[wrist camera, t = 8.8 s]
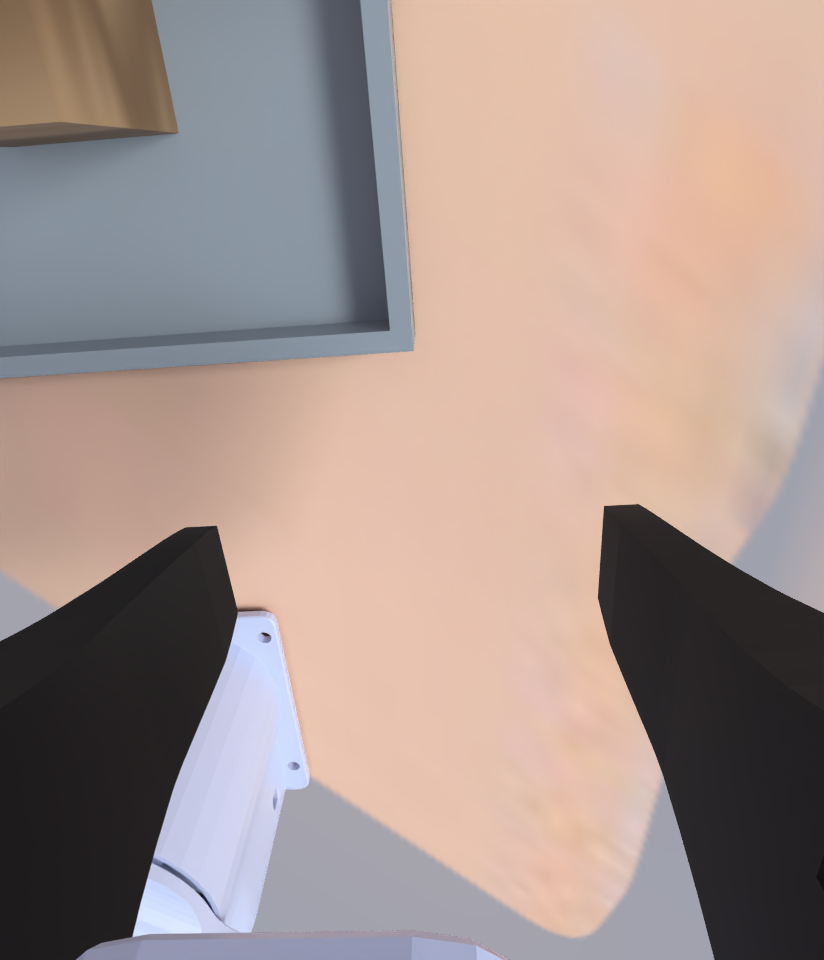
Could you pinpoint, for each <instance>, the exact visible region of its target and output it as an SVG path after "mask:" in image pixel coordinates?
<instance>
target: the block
mask: <svg viewBox="0 0 824 960" xmlns="http://www.w3.org/2000/svg"><path fill="white" fill-rule="evenodd" d="M175 133H179V131H178V126H177V121H176V116H175V112H174V107H173V102H172V97H171V92H170V87H169V82H168V78H167V73H166V68H165V63H164V58H163V53H162V49H161V44H160V39H159V34H158V29H157V24H156V19H155V15H154V10H153V5H152V0H0V147H21V146H33V145H45V144H57V143H68V142H80V141H92V140H104V139H116V138H128V137H140V136H151V135H163V134H175Z"/></svg>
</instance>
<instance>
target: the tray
mask: <svg viewBox="0 0 824 960" xmlns="http://www.w3.org/2000/svg"><path fill="white" fill-rule="evenodd" d="M152 5H153V10H154V15H155V19H156V24H157V29H158V34H159V39H160V44H161V49H162V53H163V58H164V63H165V68H166V73H167V78H168V82H169V87H170V92H171V97H172V102H173V107H174V112H175V116H176V121H177V126H178V131H179V133H175V134H163V135H151V136H140V137H128V138H116V139H104V140H92V141H80V142H68V143H57V144H45V145H33V146H21V147H0V378H13V377H28V376H43V375H59V374H74V373H89V372H104V371H119V370H134V369H149V368H164V367H179V366H195V365H210V364H225V363H240V362H255V361H270V360H285V359H300V358H315V357H331V356H346V355H361V354H376V353H391V352H406V351H414V341H415V324H414V310H413V296H412V282H411V268H410V255H409V241H408V227H407V213H406V200H405V186H404V172H403V158H402V145H401V131H400V117H399V103H398V90H397V76H396V62H395V48H394V35H393V21H392V7H391V0H152Z"/></svg>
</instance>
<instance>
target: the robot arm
mask: <svg viewBox="0 0 824 960" xmlns="http://www.w3.org/2000/svg"><path fill="white" fill-rule="evenodd" d="M598 600H599V604H600V608H601V612H602V616H603V620H604V624H605V628H606V631H607V635H608V638H609V642H610V645H611V648H612V650H613V653H614V655H615V658H616V660H617V663H618V665H619V668H620V670H621V672H622V675H623V677H624V680H625V682H626V685H627V687H628V689H629V692H630V694H631V696H632V699H633V701H634V704H635V706H636V708H637V711H638V713H639V716H640V718H641V720H642V723H643V725H644V727H645V730H646V732H647V735H648V737H649V739H650V742H651V744H652V747H653V749H654V752H655V754H656V757H657V760H658V762H659V765H660V768H661V771H662V773H663V776H664V780H665V783H666V786H667V790H668V793H669V796H670V800H671V803H672V806H673V809H674V813H675V816H676V819H677V823H678V826H679V829H680V833H681V836H682V840H683V844H684V847H685V851H686V854H687V858H688V861H689V865H690V868H691V872H692V876H693V879H694V883H695V887H696V890H697V894H698V898H699V901H700V905H701V909H702V913H703V917H704V920H705V924H706V928H707V932H708V936H709V940H710V944H711V947H712V951H713V955H714V959H715V960H824V613H823V612H821V611H818V610H816V609H814V608H812V607H810V606H808V605H806V604H804V603H802V602H799V601H797V600H795V599H793V598H791V597H789V596H787V595H785V594H783V593H781V592H779V591H777V590H775V589H774V588H771V587H770V586H768V585H766V584H764V583H763V582H761V581H759V580H757V579H756V578H754V577H752V576H750V575H749V574H747V573H745V572H743V571H742V570H740V569H738V568H736V567H735V566H733V565H731V564H730V563H728V562H727V561H725V560H723V559H722V558H720V557H718V556H717V555H715V554H714V553H712V552H711V551H709V550H707V549H706V548H704V547H703V546H701V545H700V544H698V543H697V542H695V541H694V540H692V539H691V538H689V537H688V536H686V535H685V534H683V533H682V532H680V531H679V530H677V529H676V528H674V527H673V526H671V525H670V524H668V523H667V522H665V521H664V520H663V519H661V518H660V517H658V516H657V515H655V514H654V513H652V512H650V511H649V510H647V509H646V508H644V507H642V506H640V505H639V504H635V505H616V506H604V516H603V530H602V545H601V560H600V575H599V590H598ZM262 632H265V633H268V634H269V635H270V636H264V635H263V634H261V633H262ZM295 762H296V763H295ZM309 779H310V773H309V768H308V764H307V759H306V754H305V749H304V745H303V740H302V735H301V731H300V726H299V721H298V716H297V712H296V707H295V702H294V697H293V693H292V688H291V683H290V679H289V674H288V669H287V664H286V660H285V655H284V650H283V646H282V641H281V636H280V631H279V627H278V622H277V619H276V617H275V616H274V615H273V614H272V613H270V612H267V611H247V612H238V611H237V607H236V603H235V598H234V594H233V590H232V586H231V582H230V578H229V574H228V570H227V566H226V562H225V558H224V553H223V549H222V545H221V541H220V537H219V533H218V529H217V526H206V527H187V528H184V529H182V530H180V531H178V532H176V533H174V534H173V535H171V536H170V537H168V538H166V539H165V540H163V541H162V542H160V543H159V544H157V545H156V546H154V547H153V548H151V549H150V550H148V551H147V552H145V553H144V554H142V555H141V556H139V557H138V558H136V559H135V560H133V561H132V562H131V563H129V564H128V565H126V566H125V567H123V568H122V569H120V570H119V571H117V572H116V573H114V574H113V575H111V576H110V577H108V578H107V579H105V580H104V581H102V582H101V583H99V584H98V585H96V586H95V587H93V588H91V589H90V590H88V591H87V592H85V593H83V594H82V595H80V596H79V597H77V598H75V599H74V600H72V601H71V602H69V603H67V604H66V605H64V606H63V607H61V608H59V609H58V610H56V611H55V612H53V613H51V614H50V615H48V616H47V617H45V618H43V619H41V620H39V621H38V622H36V623H34V624H32V625H31V626H29V627H27V628H25V629H23V630H21V631H19V632H18V633H16V634H14V635H12V636H10V637H8V638H6V639H4V640H2V641H0V960H509V959H507V958H505V957H504V956H501V955H500V954H498V953H496V952H494V951H493V950H491V949H489V948H487V947H485V946H483V945H481V944H480V943H478V942H476V941H474V940H472V939H470V938H465V937H458V936H451V935H443V934H437V933H429V932H422V931H415V930H396V931H331V932H330V931H327V932H326V931H325V932H257V933H256V932H254V933H251V931H252V928H253V925H254V922H255V919H256V915H257V911H258V907H259V902H260V898H261V893H262V889H263V885H264V881H265V876H266V872H267V868H268V863H269V859H270V855H271V850H272V846H273V842H274V837H275V833H276V829H277V824H278V820H279V816H280V811H281V807H282V803H283V797H284V794H285V790H286V789H302V788H304V787H306V786H307V785H308V784H309Z"/></svg>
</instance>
